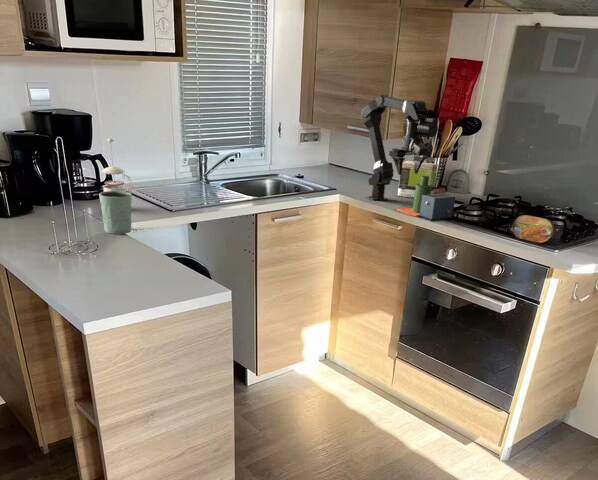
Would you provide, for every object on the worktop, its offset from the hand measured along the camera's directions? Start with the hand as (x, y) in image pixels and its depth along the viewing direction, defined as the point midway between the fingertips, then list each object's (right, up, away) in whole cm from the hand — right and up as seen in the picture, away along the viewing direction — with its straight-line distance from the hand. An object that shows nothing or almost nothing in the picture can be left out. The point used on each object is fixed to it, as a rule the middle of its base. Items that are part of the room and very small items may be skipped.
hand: (407, 174), depth 255 cm
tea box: (+8, -1, +27) cm, 28 cm away
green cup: (-107, -39, -53) cm, 125 cm away
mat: (+4, -17, -3) cm, 18 cm away
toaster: (+9, -22, -11) cm, 26 cm away
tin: (+39, -38, -35) cm, 64 cm away
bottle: (+4, -17, -4) cm, 18 cm away
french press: (-115, -23, -26) cm, 120 cm away
